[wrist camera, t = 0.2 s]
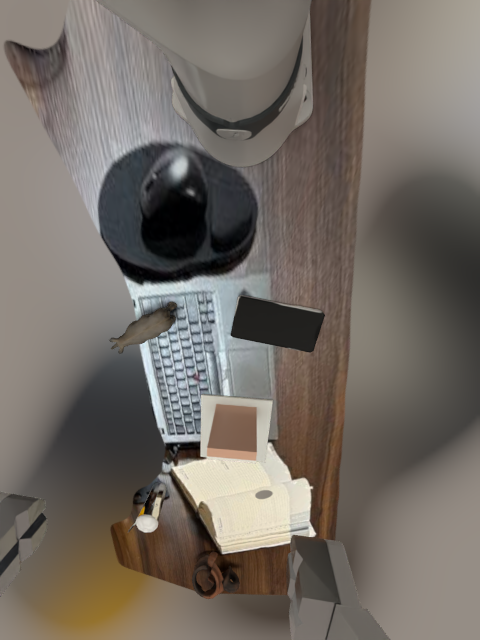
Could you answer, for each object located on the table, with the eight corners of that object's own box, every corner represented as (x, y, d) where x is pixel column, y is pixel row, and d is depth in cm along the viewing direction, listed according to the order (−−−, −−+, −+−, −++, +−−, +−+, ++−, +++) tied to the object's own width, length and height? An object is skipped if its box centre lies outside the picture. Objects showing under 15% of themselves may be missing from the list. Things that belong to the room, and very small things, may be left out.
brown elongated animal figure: (111, 331, 50) (93, 345, 44) (172, 296, 47) (161, 307, 41) (125, 349, 51) (109, 365, 45) (185, 316, 48) (176, 329, 42)
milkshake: (146, 478, 63) (127, 524, 53) (169, 480, 62) (154, 527, 53) (147, 492, 64) (128, 539, 55) (169, 494, 64) (154, 541, 55)
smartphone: (238, 294, 45) (325, 311, 45) (238, 292, 47) (324, 309, 47) (230, 337, 48) (312, 353, 48) (230, 334, 49) (311, 350, 49)
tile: (216, 403, 54) (207, 447, 43) (256, 407, 53) (256, 452, 43) (215, 413, 54) (206, 459, 44) (255, 417, 54) (255, 463, 44)
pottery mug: (201, 572, 75) (187, 597, 67) (204, 535, 76) (191, 556, 68) (242, 587, 71) (232, 616, 63) (245, 548, 72) (236, 572, 64)
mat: (201, 393, 53) (201, 395, 53) (272, 399, 53) (272, 401, 53) (201, 455, 59) (200, 456, 59) (264, 460, 59) (265, 462, 58)
